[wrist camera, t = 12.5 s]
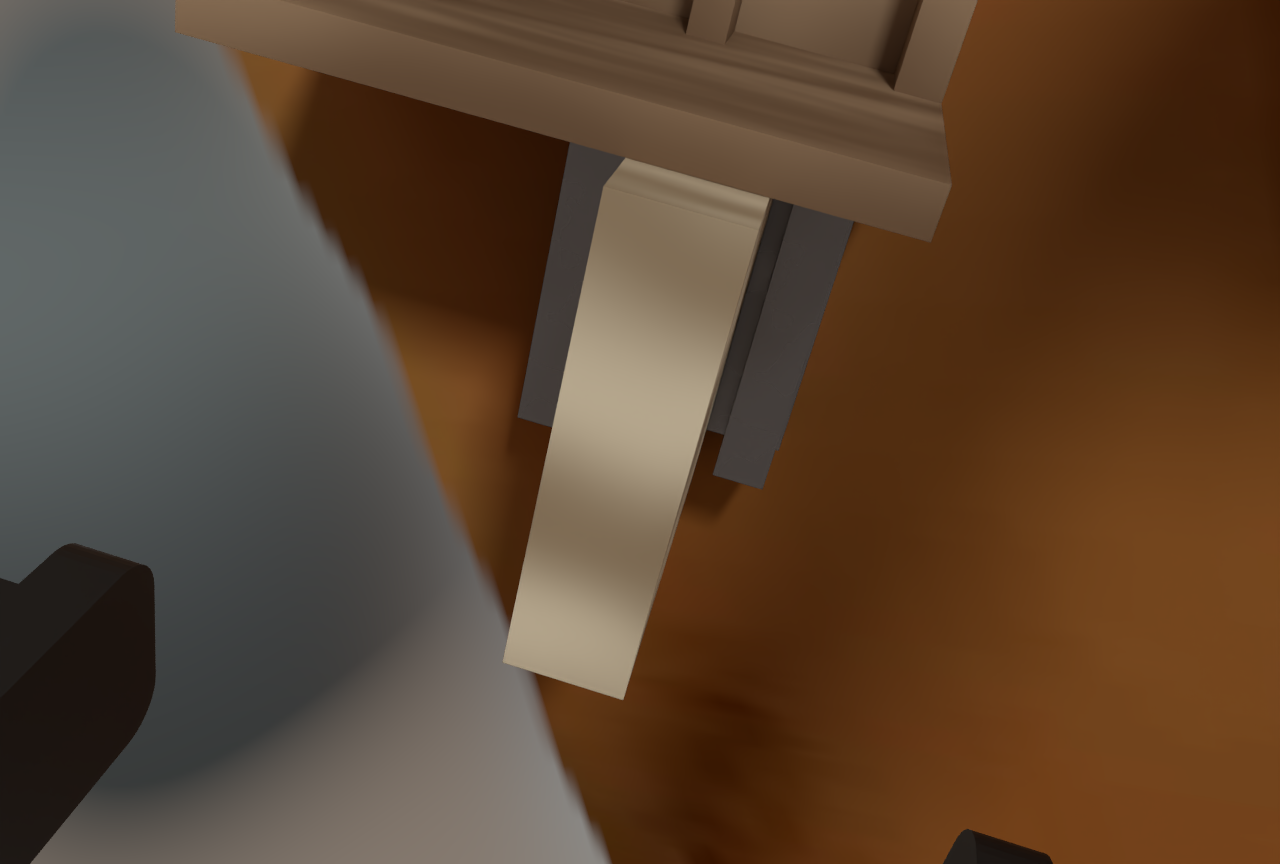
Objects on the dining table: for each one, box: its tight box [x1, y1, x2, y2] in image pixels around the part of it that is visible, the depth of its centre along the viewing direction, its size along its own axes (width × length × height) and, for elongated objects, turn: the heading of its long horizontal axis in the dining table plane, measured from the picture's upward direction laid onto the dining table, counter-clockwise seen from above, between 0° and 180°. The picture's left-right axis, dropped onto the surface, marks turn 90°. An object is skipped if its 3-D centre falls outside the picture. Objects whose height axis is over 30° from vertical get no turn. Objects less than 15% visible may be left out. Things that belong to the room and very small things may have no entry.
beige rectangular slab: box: [503, 158, 773, 700], centre depth 29 cm, size 12×3×11 cm, turn 167°
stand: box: [518, 142, 854, 489], centre depth 33 cm, size 9×8×4 cm
